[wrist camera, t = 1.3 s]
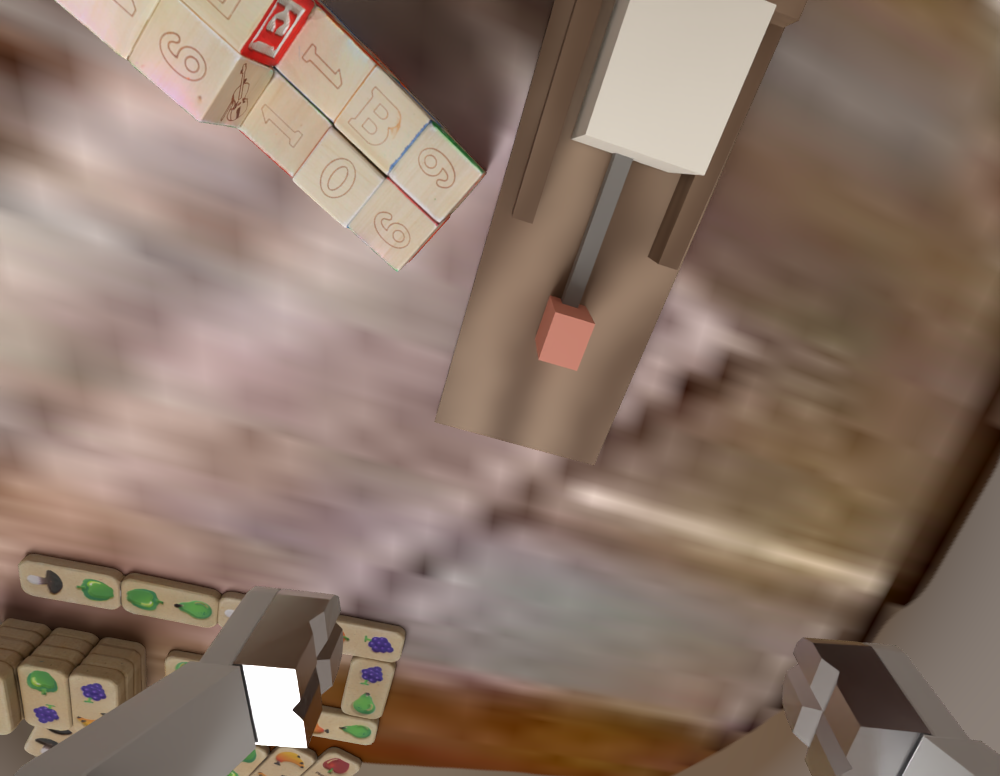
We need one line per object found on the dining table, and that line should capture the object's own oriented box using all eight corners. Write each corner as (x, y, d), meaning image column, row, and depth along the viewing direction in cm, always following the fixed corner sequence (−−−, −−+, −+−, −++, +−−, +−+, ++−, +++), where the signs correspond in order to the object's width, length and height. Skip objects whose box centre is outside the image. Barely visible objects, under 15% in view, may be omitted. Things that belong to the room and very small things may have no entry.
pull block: (508, 330, 34) (509, 363, 29) (617, -5, 27) (645, -47, 22) (595, 356, 35) (611, 393, 30) (723, 35, 28) (776, 4, 22)
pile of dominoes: (27, 744, 54) (-22, 805, 49) (-3, 539, 44) (-70, 589, 39) (363, 800, 58) (349, 862, 52) (409, 621, 47) (397, 676, 42)
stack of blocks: (491, 171, 32) (483, 177, 21) (423, 247, 34) (382, 292, 22) (177, -153, 26) (-72, -391, 15) (116, -40, 28) (-147, -175, 17)
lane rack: (436, 415, 38) (426, 450, 34) (570, -57, 27) (583, -100, 23) (591, 458, 40) (603, 497, 35) (779, 23, 29) (831, -3, 24)
